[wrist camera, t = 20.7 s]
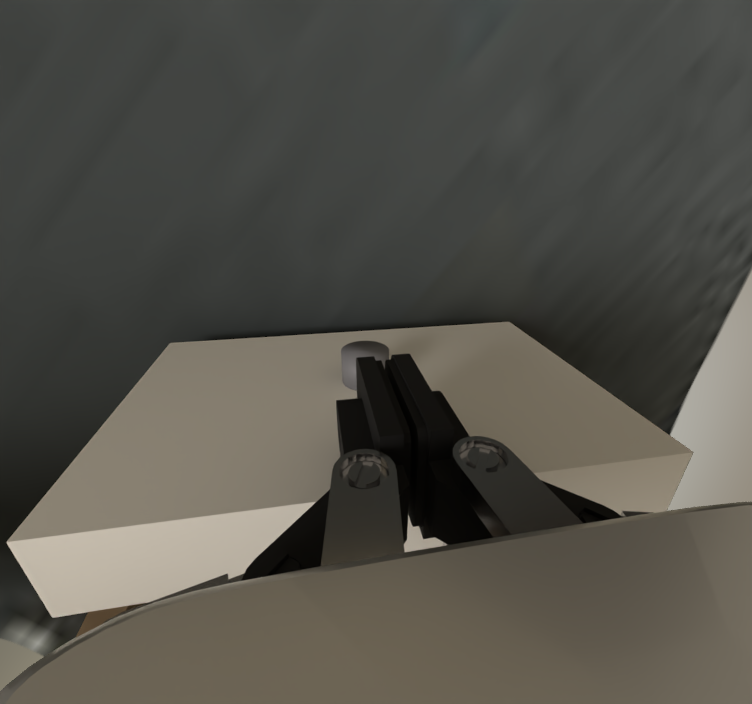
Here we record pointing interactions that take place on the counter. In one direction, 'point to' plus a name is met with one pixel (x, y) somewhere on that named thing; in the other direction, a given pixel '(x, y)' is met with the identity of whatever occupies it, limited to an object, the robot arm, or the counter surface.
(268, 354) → the drawer
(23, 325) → the counter surface
